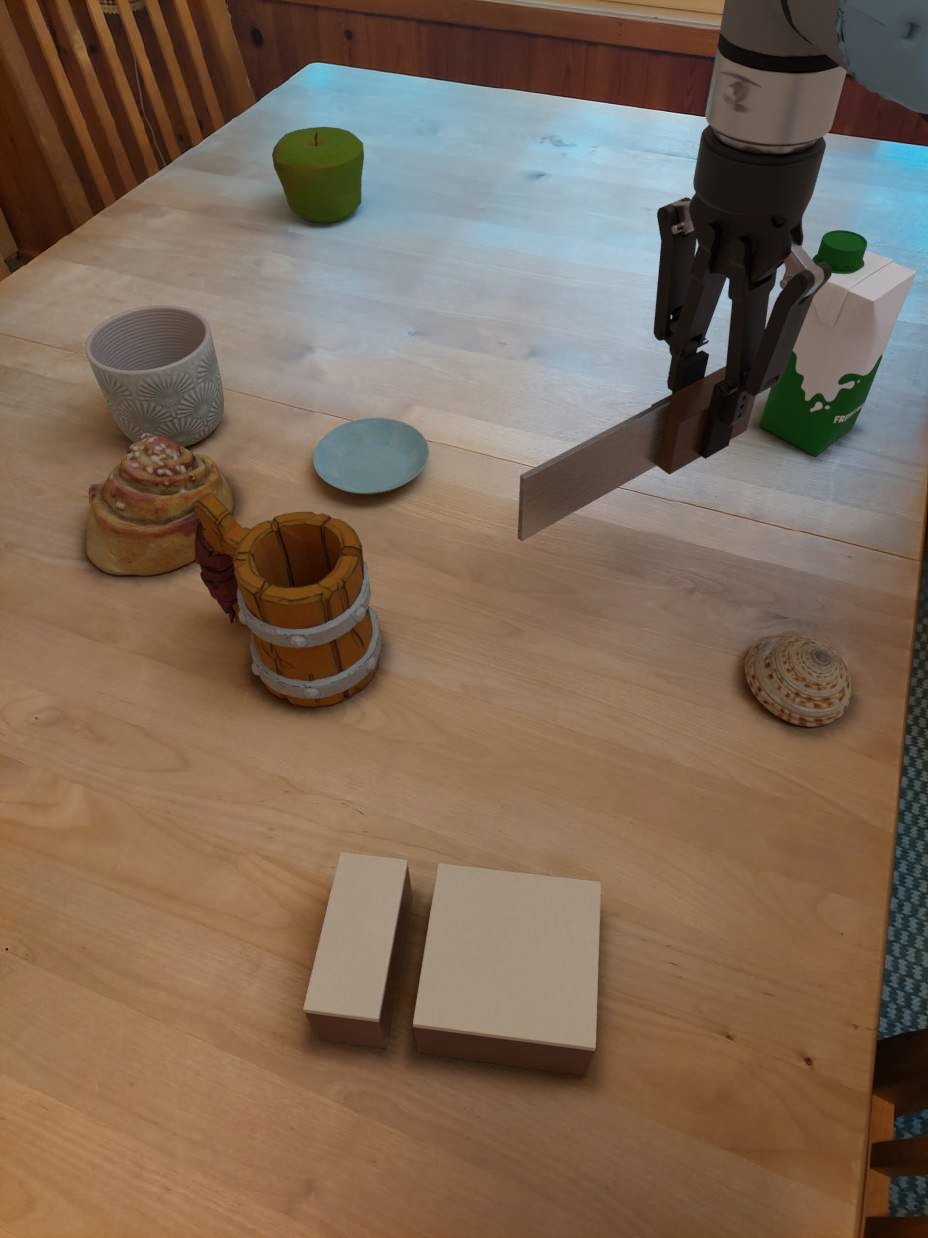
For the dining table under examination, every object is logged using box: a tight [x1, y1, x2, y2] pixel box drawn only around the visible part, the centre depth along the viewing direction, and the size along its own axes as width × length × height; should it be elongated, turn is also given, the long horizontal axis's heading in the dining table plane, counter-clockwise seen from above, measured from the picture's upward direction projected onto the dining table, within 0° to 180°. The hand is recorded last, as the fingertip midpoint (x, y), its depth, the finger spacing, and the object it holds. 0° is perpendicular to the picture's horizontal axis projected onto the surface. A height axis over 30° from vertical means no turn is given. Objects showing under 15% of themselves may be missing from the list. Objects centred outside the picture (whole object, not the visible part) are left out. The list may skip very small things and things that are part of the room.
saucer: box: [312, 417, 430, 495], centre depth 92 cm, size 12×12×2 cm
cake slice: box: [302, 851, 414, 1050], centre depth 58 cm, size 10×4×6 cm, turn 173°
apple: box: [271, 126, 365, 224], centre depth 127 cm, size 12×12×11 cm
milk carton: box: [758, 229, 918, 457], centre depth 89 cm, size 9×9×20 cm
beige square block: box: [412, 862, 602, 1077], centre depth 57 cm, size 10×10×6 cm
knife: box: [517, 365, 757, 542], centre depth 68 cm, size 23×3×6 cm, turn 127°
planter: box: [84, 304, 225, 448], centre depth 94 cm, size 12×12×11 cm
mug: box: [192, 492, 382, 708], centre depth 72 cm, size 11×16×15 cm, turn 61°
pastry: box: [85, 433, 236, 577], centre depth 85 cm, size 13×15×8 cm
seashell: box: [744, 631, 853, 728], centre depth 74 cm, size 8×6×8 cm
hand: (696, 437), depth 73 cm, fingers closed on knife, 3 cm apart
